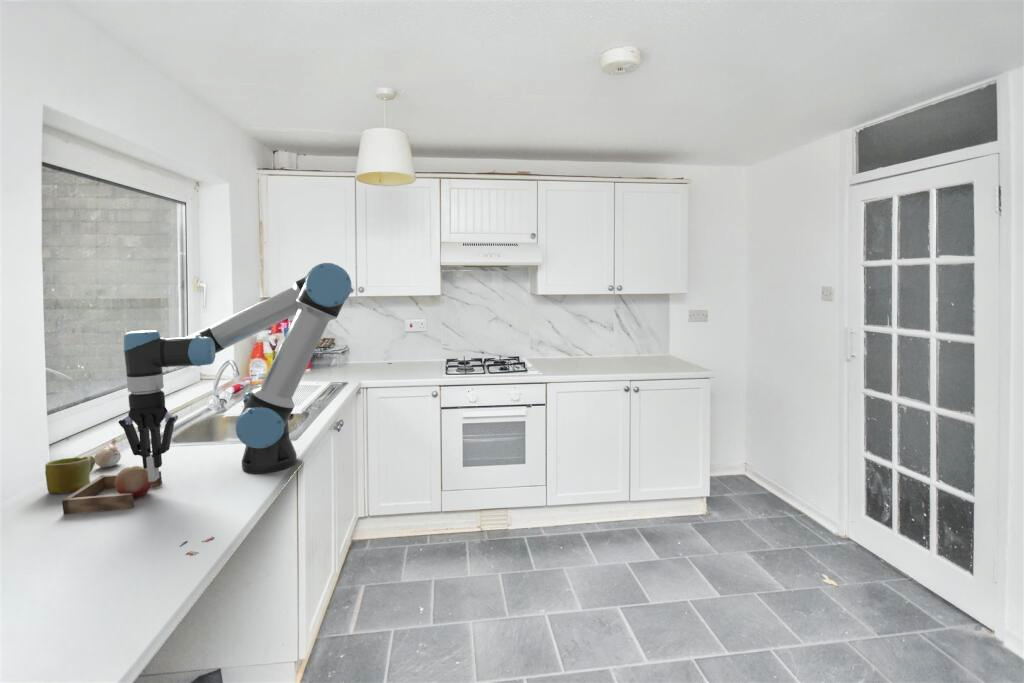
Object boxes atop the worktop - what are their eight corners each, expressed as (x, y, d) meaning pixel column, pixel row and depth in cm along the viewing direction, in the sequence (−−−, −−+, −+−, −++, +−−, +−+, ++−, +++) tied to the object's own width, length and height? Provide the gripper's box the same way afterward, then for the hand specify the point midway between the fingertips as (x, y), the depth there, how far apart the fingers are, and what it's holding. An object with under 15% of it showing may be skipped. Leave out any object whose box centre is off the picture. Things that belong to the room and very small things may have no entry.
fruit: (161, 491, 135) (159, 462, 134) (130, 504, 128) (127, 473, 127) (140, 488, 138) (137, 459, 137) (108, 500, 130) (105, 470, 129)
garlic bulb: (125, 465, 156) (123, 439, 155) (100, 471, 150) (97, 445, 149) (116, 461, 159) (114, 436, 158) (91, 467, 154) (88, 442, 153)
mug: (65, 492, 131) (60, 454, 132) (36, 501, 133) (32, 463, 134) (113, 483, 142) (108, 448, 144) (86, 492, 145) (81, 457, 146)
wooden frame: (162, 483, 141) (160, 471, 141) (131, 508, 125) (130, 494, 125) (102, 487, 138) (101, 475, 138) (63, 514, 122) (61, 500, 122)
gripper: (180, 387, 135) (187, 472, 138) (125, 389, 133) (133, 476, 135) (168, 392, 128) (175, 483, 131) (109, 395, 125) (117, 487, 128)
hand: (153, 479), depth 133 cm, fingers closed
